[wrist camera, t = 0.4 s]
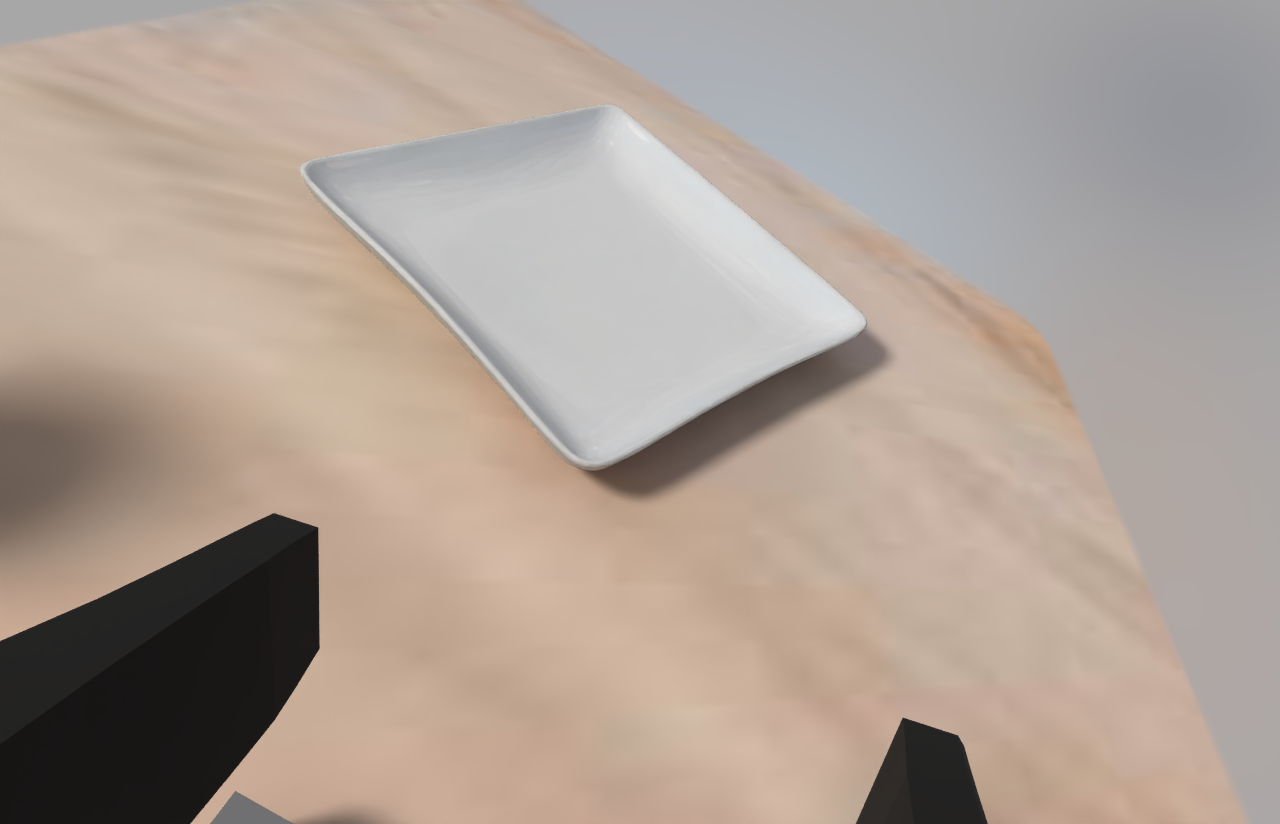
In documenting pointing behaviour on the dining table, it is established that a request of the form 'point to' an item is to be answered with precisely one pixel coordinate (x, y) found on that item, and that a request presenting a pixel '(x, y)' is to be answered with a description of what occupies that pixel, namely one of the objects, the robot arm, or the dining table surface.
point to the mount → (246, 813)
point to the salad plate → (586, 272)
